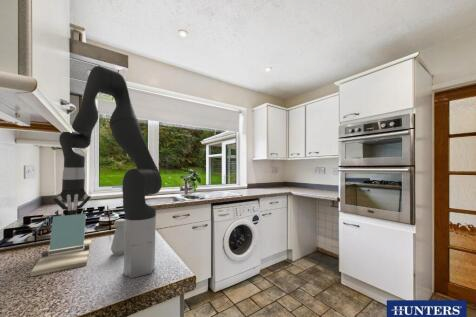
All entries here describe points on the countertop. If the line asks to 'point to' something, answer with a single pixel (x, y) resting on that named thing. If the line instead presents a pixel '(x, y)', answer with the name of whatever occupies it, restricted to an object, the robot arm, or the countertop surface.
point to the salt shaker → (118, 237)
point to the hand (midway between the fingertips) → (72, 218)
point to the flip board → (62, 259)
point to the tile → (67, 233)
